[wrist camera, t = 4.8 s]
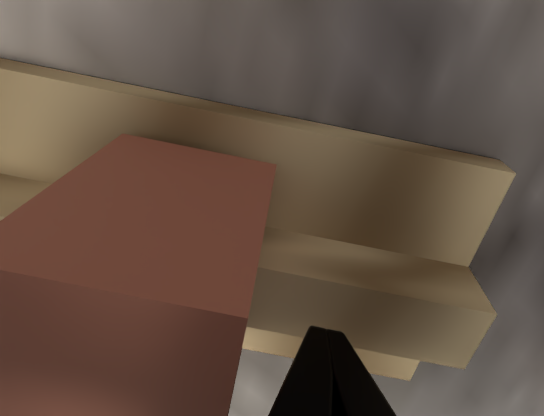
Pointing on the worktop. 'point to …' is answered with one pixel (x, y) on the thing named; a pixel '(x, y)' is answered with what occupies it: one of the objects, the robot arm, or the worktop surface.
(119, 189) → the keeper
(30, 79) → the rail
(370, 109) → the worktop surface
